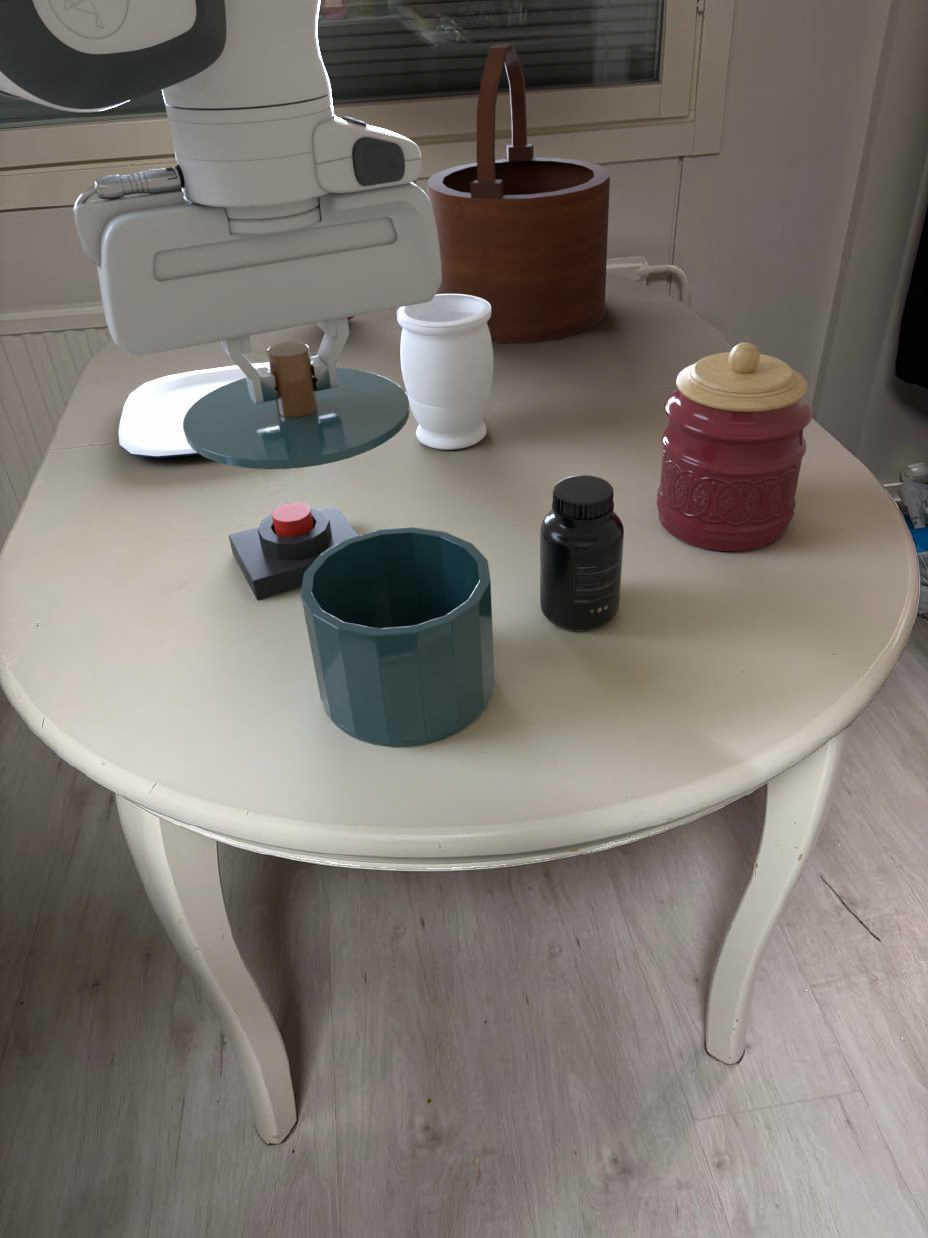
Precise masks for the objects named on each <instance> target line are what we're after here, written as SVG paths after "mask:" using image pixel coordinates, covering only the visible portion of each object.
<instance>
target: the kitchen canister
mask: <svg viewBox="0 0 928 1238" xmlns="http://www.w3.org/2000/svg"><path fill="white" fill-rule="evenodd" d="M730 350H731V351H727V352H719V353H714V354H711V355H708V356H704V357H702V358H700V359H699V360H698V361H697V362H695V363H692V364H690V365H688V366H686V367H684V368H683V369H682V370H681V371H680V372H679V373H678V375H677V377H676V381H675V384H676V388H675V389H674V390H672V391H671V393H670V394H669V395H668V396H667V397H666V400H665V401H664V411H665V413H666V416H667V417H668V419H669V420H668V424H667V426H666V427H665V428H664V430H663V432H662V436H661V443H662V455H661V469H660V478H659V486H658V488H657V492H656V508H657V511H658V512H657V513H658V520H659V522H660V524H661V526H662V527H663V528H664V530H666V531H667V532H668V533H669V534H670V535H672V536H673V537H675V538H676V539H678V540H680V541H682V542H684V543H687V544H690V545H692V546H695V547H698V548H703V549H707V550H712V551H721V552H742V551H750V550H756V549H761V548H763V547H766V546H769V545H771V544H773V543H775V542H777V541H779V540H780V539H781V538H782V537H784V535H785V534H786V533H787V531H788V529H789V526H790V524H791V522H792V520H793V519H794V516H795V509H796V505H797V504H796V503H797V502H796V493H797V489H798V483H799V478H800V472H801V468H802V461H803V457H804V456H805V455H806V453H807V442H806V439H805V437H804V429H805V428H806V427H808V425H809V424H810V422H811V421H812V418H813V416H814V411H813V407H812V405H811V403H810V402H809V401H808V399H807V398H806V397H805V395H806V394H807V391H808V383H807V380H806V379H805V377H804V376H803V375H802V374H800V372H799V371H797V370H795V369H793V368H792V367H791V366H790V365H789V364H788V363H786V362H785V361H784V360H781V359H780V358H777V357H775V356H771V355H767V354H763V353H760V350H759V349H758V347H757V346H756V345H755V344H753V343H751V342H740V343H738V344H736V345H734V346H733V348H731V349H730Z"/></svg>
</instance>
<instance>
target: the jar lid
mask: <svg viewBox="0 0 928 1238" xmlns="http://www.w3.org/2000/svg"><path fill="white" fill-rule="evenodd" d="M266 354H267V360H268V362H269V367H270V371H271V372H272V373H273V374H274V375H275V381H276V387H275V390H276V391H277V393H278V399H277V400H273V401H269V402H265V403H261V404H255V403H254V402H253V401H252V399H251V397H250V394H249V391H248V385H247V380H246V378H244V379H240V380H237V381H235V382H232V383H229V384H227V385H224V386H222V387H220V388H218V389H216V390H214V391H212V392H210V393H208V394H207V395H205V396H204V397H202V398H201V399H199V400H198V401H197V402H196V403H194V404H193V405H192V407H191V408H190V409H189V410H188V412H187V413H186V415H185V417H184V420H183V430H184V435H185V438H186V441H187V442H188V444H189V445H190V446H191V448H192V449H194V450H195V451H196V452H197V453H199V454H198V455H201V456H202V457H204V458H206V459H208V460H210V461H213V462H216V463H220V464H223V465H227V466H231V467H236V468H237V467H238V468H242V469H243V468H244V469H254V470H290V469H292V470H293V469H302V468H311V467H317V466H322V465H323V466H324V465H327V464H332V463H336V462H340V461H344V460H347V459H350V458H354V457H356V456H360V455H362V454H365V453H367V452H369V451H372V450H373V449H376V448H377V447H379V446H382V445H383V444H385V443H387V442H388V441H389V440H391V439H392V438H394V437H395V436H397V434H398V433H400V431H401V430H402V429H403V428H404V427H405V426H406V424H407V422H408V420H409V419H410V418H409V417H410V411H411V407H410V404H409V399H408V394H407V392H406V391H405V390H404V389H403V388H402V386H400V385H399V384H398V383H396V382H395V381H394V380H391V379H389V378H387V377H385V376H382V375H380V374H377V373H373V372H369V371H365V370H361V369H354V368H346V367H336V372H337V380H338V387H336V388H331V389H326V390H322V391H317V392H316V391H315V388H314V381H313V374H312V367H311V360H310V357H311V354H310V347H309V346H308V344H306V343H304V342H299V341H287V342H281V343H277V344H274V345H272V346H269V348H268V349H267V350H266Z"/></svg>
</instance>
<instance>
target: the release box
mask: <svg viewBox="0 0 928 1238" xmlns="http://www.w3.org/2000/svg"><path fill="white" fill-rule="evenodd" d="M310 508H311V513H312V519H313V529H312V530H310V531H309V532H307V533H306V534H302V535H299V536H295V537H283V536H280V535H278V534H276V532H275V528H274V523H273V518H272V513H271V514H270V515H267V517H265V518H263V519H262V520H261V522H260V524H259V525H258V526H256V527H251V528H249V529H245V530H241V531H238V532H234V533H230V534H228V540H229V544H230V548H231V552H232V555H233V558H234V559H235V561H236V563H237V564H238V567H239V569H240V570H241V572H242V574H243V576H244V578H245V580H246V582H247V584H248V585H249V588H250V589H251V591H252V594H253V595H254V597H255V599H256V601H260V600H264V599H267V598H272V597H274V596H277V595H280V594H285V593H287V592H291V591H295V590H299V589H302V582H303V576H304V573H305V572H306V571H307V569H308V568H309V567H310V566H311V565H312V564H313V562H314V561H315V560H316V559H317V558H318V556H319V555H321V553H323V552H325V551H327V550H328V549H330V548H332V547H334V546H335V545H337V544H339V543H340V542H342V541H344V540H346V539H349V538H352V537H356V536H359V534H358V532H356V530H355V529H354V528H353V526H352V525H351V524H350V522H349V521H348V520H347V518H346V517H345V516H344V515H343V513H342V512H341V510H340V509H339V508H338V507H337V505H333V506H330V507H326V508H322V509H317V508H313V507H310Z"/></svg>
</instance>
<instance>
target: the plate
mask: <svg viewBox="0 0 928 1238" xmlns="http://www.w3.org/2000/svg"><path fill="white" fill-rule="evenodd" d="M251 364H252V365H253V367H254V368H259V367H264V366H267V367H268V368H269V369H270V367H269V361H268V362H257V363H251ZM244 378H246V375H245V374H244V372H243V371H242V370H241V369H240V368H239V367H238V366H237V365H230V366H229V365H228V366H222V367H215V368H207V369H199V370H192V371H187V372H181V373H176V374H175V373H174V374H170V375H165V376H162V377H159V378H155V379H153V380H149V381H145V382H144V383H143V384H141V385H140V386H138V387H137V388H136V389H135V390H133V391H131V392H130V393H129V395H128V397H127V399H126V401H125V403H124V405H123V408H122V411H121V416H120V421H119V425H118V430H117V431H118V442H119V443H118V444H119V446H120V447H121V448H122V449H123V450H124V451H126V452H127V453H129V454H130V455H131V456H137V457H147V458H156V459H161V458H162V459H163V458H174V457H188V456H197V455H200V454H199V453H197V452H196V451H195V450H194V449H192V448H191V446H190V445H189V444H188V442H187V441H186V438H185V435H184V430H183V420H184V417H185V415H186V413H187V412H188V410H189V409H190V408H191V407H192V405H193V404H194V403H196V402H197V401H198V400H199V399H201V398H202V397H204V396H205V395H207V394H208V393H210V392H212V391H214V390H216V389H218V388H220V387H222V386H224V385H227V384H229V383H232V382H235V381H237V380H240V379H244Z"/></svg>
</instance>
